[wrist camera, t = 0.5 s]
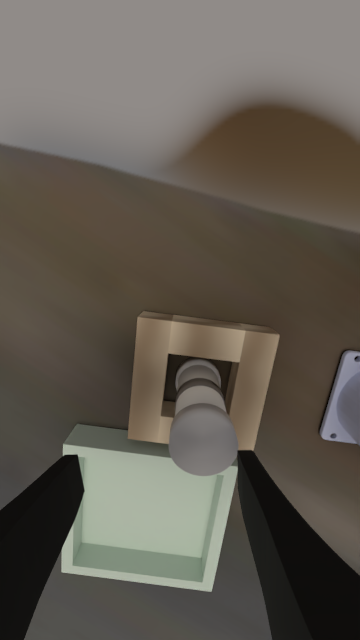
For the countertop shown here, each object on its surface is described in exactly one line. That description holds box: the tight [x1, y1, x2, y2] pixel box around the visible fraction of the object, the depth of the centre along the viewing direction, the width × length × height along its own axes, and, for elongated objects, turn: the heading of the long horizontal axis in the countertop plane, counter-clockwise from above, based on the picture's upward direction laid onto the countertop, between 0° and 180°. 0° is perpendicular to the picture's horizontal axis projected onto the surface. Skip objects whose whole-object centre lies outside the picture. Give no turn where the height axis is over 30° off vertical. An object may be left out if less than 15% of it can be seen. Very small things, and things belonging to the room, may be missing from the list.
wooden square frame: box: [128, 311, 280, 451], centre depth 19 cm, size 10×10×2 cm
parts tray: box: [62, 424, 238, 592], centre depth 22 cm, size 14×14×2 cm
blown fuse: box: [169, 357, 239, 476], centre depth 16 cm, size 4×4×8 cm
